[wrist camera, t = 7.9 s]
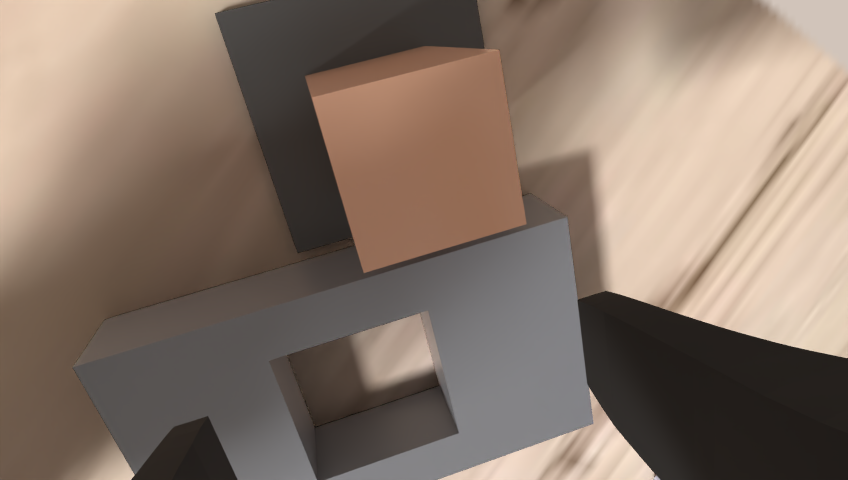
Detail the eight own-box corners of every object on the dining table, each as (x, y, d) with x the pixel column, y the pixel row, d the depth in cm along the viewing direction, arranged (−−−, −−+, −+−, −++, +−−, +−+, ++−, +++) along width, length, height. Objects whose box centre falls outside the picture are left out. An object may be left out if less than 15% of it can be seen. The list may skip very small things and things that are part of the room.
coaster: (465, -44, 17) (468, -46, 17) (504, 188, 20) (508, 191, 20) (216, 13, 16) (214, 13, 16) (297, 249, 19) (297, 253, 19)
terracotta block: (424, 45, 18) (499, 49, 11) (448, 162, 19) (526, 223, 13) (304, 75, 17) (311, 97, 11) (339, 193, 19) (363, 272, 12)
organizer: (531, 193, 21) (567, 216, 18) (559, 380, 24) (593, 423, 22) (104, 319, 19) (72, 367, 16) (202, 503, 22) (189, 568, 20)
